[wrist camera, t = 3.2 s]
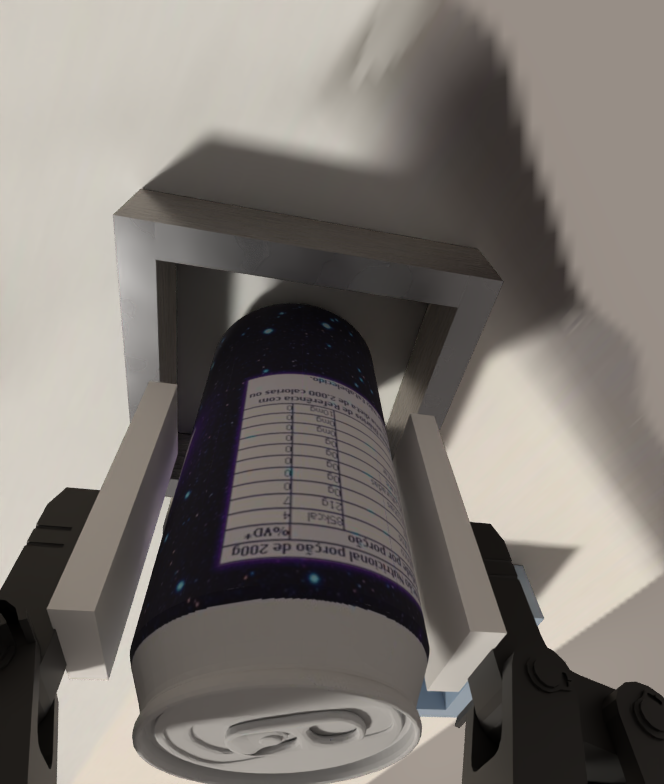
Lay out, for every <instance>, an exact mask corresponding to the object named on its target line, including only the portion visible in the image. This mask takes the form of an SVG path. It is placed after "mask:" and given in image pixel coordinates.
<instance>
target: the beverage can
mask: <svg viewBox="0 0 664 784" xmlns="http://www.w3.org/2000/svg"><path fill="white" fill-rule="evenodd" d="M429 653H430V647H429V642H428V637H427V632H426V627H425V622H424V617H423V612H422V607H421V602H420V597H419V592H418V587H417V582H416V577H415V572H414V567H413V562H412V557H411V552H410V547H409V542H408V537H407V532H406V527H405V522H404V517H403V512H402V507H401V502H400V497H399V492H398V487H397V482H396V477H395V472H394V467H393V462H392V457H391V452H390V447H389V442H388V437H387V432H386V427H385V422H384V417H383V412H382V407H381V402H380V397H379V392H378V387H377V382H376V377H375V373H374V368H373V363H372V358H371V354H370V351H369V349H368V346H367V344H366V342H365V341H364V339H363V338H362V336H361V335H360V334H359V332H358V331H357V330H356V329H355V328H354V327H353V326H352V325H351V324H349V323H348V322H347V321H346V320H344V319H343V318H341V317H340V316H338V315H336V314H334V313H332V312H330V311H328V310H325V309H322V308H319V307H316V306H311V305H306V304H296V303H287V304H277V305H272V306H267V307H264V308H261V309H258V310H255V311H253V312H251V313H249V314H247V315H245V316H244V317H242V318H241V319H239V320H238V321H237V322H235V323H234V324H233V325H232V326H231V327H230V328H229V329H228V330H227V331H226V333H225V334H224V335H223V337H222V338H221V340H220V342H219V344H218V346H217V348H216V351H215V355H214V358H213V362H212V365H211V369H210V372H209V376H208V379H207V383H206V386H205V390H204V393H203V397H202V400H201V404H200V407H199V410H198V414H197V417H196V421H195V424H194V428H193V431H192V435H191V438H190V442H189V445H188V449H187V452H186V456H185V459H184V463H183V466H182V470H181V473H180V477H179V480H178V484H177V487H176V491H175V494H174V498H173V501H172V505H171V508H170V512H169V515H168V519H167V522H166V526H165V529H164V533H163V536H162V540H161V543H160V547H159V550H158V554H157V557H156V561H155V564H154V568H153V571H152V575H151V578H150V582H149V585H148V589H147V592H146V596H145V599H144V603H143V606H142V610H141V613H140V617H139V620H138V624H137V627H136V631H135V634H134V638H133V641H132V645H131V649H130V662H131V669H132V674H133V679H134V684H135V688H136V693H137V698H138V703H139V709H140V715H139V717H138V718H137V720H136V722H135V725H134V728H133V734H132V739H133V745H134V748H135V749H136V751H137V753H138V754H139V756H140V757H141V758H142V759H144V760H145V761H146V762H147V763H148V764H150V765H152V766H153V767H155V768H157V769H159V770H161V771H164V772H166V773H168V774H171V775H173V776H176V777H179V778H183V779H187V780H192V781H196V782H200V783H205V784H328V783H334V782H339V781H344V780H349V779H354V778H357V777H361V776H364V775H367V774H370V773H373V772H376V771H379V770H382V769H384V768H386V767H388V766H390V765H392V764H394V763H396V762H398V761H399V760H401V759H403V758H404V757H405V756H407V755H408V754H409V753H410V752H411V751H412V750H413V749H414V748H415V747H416V745H417V744H418V742H419V740H420V737H421V732H422V724H421V720H420V716H419V713H418V711H417V709H416V706H417V702H418V698H419V694H420V691H421V687H422V683H423V679H424V676H425V672H426V668H427V664H428V659H429Z"/></svg>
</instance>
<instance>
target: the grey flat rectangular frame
mask: <svg viewBox="0 0 664 784" xmlns="http://www.w3.org/2000/svg"><path fill="white" fill-rule="evenodd" d="M113 222H114V234H115V246H116V258H117V270H118V282H119V294H120V306H121V319H122V331H123V343H124V355H125V367H126V379H127V391H128V403H129V415H130V423H131V421H132V419H133V416H134V414H135V412H136V410H137V408H138V405H139V403H140V401H141V399H142V396H143V394H144V392H145V390H146V388H147V385H148V383H149V381H153V382H161V383H169V384H177V274H176V263H180V264H186V265H192V266H199V267H205V268H211V269H218V270H224V271H230V272H236V273H243V274H249V275H255V276H262V277H268V278H274V279H280V280H287V281H293V282H299V283H306V284H312V285H318V286H324V287H331V288H337V289H343V290H350V291H356V292H362V293H369V294H375V295H381V296H387V297H394V298H400V299H406V300H413V301H419V302H425V303H429V304H428V307H427V309H426V312H425V315H424V318H423V321H422V324H421V327H420V330H419V333H418V336H417V339H416V342H415V345H414V348H413V351H412V353H411V356H410V359H409V362H408V365H407V368H406V371H405V374H404V377H403V380H402V383H401V386H400V389H399V392H398V394H397V397H396V400H395V403H394V406H393V409H392V412H391V415H390V418H389V421H388V424H387V427H386V432H387V437H388V442H389V447H390V452H391V457H392V461H393V458H394V456H395V453H396V450H397V448H398V445H399V442H400V440H401V437H402V434H403V432H404V429H405V426H406V424H407V421H408V418H409V415H410V413H414V414H422V415H430V416H434V417H435V420H436V423H437V426H438V429H439V430H440V428H441V425H442V423H443V421H444V418H445V416H446V414H447V411H448V409H449V407H450V405H451V402H452V400H453V398H454V395H455V393H456V391H457V388H458V386H459V384H460V381H461V379H462V377H463V374H464V372H465V370H466V367H467V365H468V363H469V360H470V358H471V356H472V354H473V351H474V349H475V347H476V344H477V342H478V340H479V337H480V335H481V333H482V330H483V328H484V326H485V323H486V321H487V319H488V316H489V314H490V312H491V309H492V307H493V305H494V303H495V300H496V298H497V296H498V293H499V291H500V289H501V286H502V284H503V282H504V281H503V280H502V279H501V277H500V276H499V275H498V274H497V272H496V271H495V270H494V269H493V267H492V266H491V265H490V264H489V262H488V261H487V260H486V259H485V257H484V256H483V255H482V254H481V252H480V251H479V250H478V249H474V248H468V247H463V246H457V245H452V244H446V243H440V242H435V241H429V240H424V239H418V238H412V237H407V236H401V235H396V234H390V233H385V232H379V231H373V230H368V229H362V228H357V227H351V226H346V225H340V224H334V223H329V222H323V221H318V220H312V219H307V218H301V217H295V216H290V215H284V214H279V213H273V212H268V211H262V210H256V209H251V208H245V207H240V206H234V205H229V204H223V203H217V202H212V201H206V200H201V199H195V198H190V197H184V196H178V195H173V194H167V193H162V192H156V191H150V190H145V189H140V190H139V191H138V192H137V193H136V194H135V195H134V196H133V197H131V198H130V199H129V200H128V201H127V202H126V203H125V204H124V205H123V206H122V207H121V208H120V209H119V210H118V211H117V212H115V213H114V214H113ZM190 438H191V434H181V433H178V454H177V458H176V461H175V464H174V467H173V471H172V474H171V477H170V481H169V484H168V487H167V490H166V494H165V496H166V497H172V498H171V501H170V505H169V508H168V512H167V515H166V518H165V522H164V525H163V533H164V529H165V526H166V522H167V519H168V515H169V512H170V508H171V505H172V501H173V498H174V494H175V491H176V487H177V484H178V480H179V477H180V473H181V470H182V466H183V463H184V459H185V456H186V452H187V449H188V445H189V442H190Z"/></svg>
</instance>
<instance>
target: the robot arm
mask: <svg viewBox="0 0 664 784" xmlns="http://www.w3.org/2000/svg"><path fill="white" fill-rule="evenodd" d="M177 454H178V407H177V384H169V383H161V382H153V381H149V383H148V385H147V388H146V390H145V392H144V394H143V396H142V399H141V401H140V403H139V405H138V408H137V410H136V412H135V414H134V416H133V419H132V421H131V423H130V425H129V427H128V430H127V432H126V434H125V436H124V439H123V441H122V443H121V445H120V447H119V450H118V452H117V454H116V456H115V459H114V461H113V463H112V465H111V467H110V470H109V472H108V474H107V476H106V478H105V481H104V483H103V485H102V487H101V490H90V489H79V488H68V487H67V488H65V489H64V490H63V491H62V492H61V493H60V494H59V495H57V496H56V497H55V498H54V499H53V500H52V501H51V502H49V503H48V504H47V506H46V508H45V510H44V512H43V513H42V515H41V517H40V519H39V521H38V522H37V524H36V528H35V529H34V530H33V532H32V533H31V535H30V537H29V539H28V541H27V545H26V546H24V548H23V550H22V552H21V553H20V555H19V557H18V559H17V561H16V562H15V564H14V566H13V568H12V570H11V572H10V573H9V575H8V577H7V579H6V581H5V583H4V584H3V586H2V588H1V590H0V784H57V743H58V698H57V693H56V692H57V690H58V687H59V684H60V682H61V679H62V677H63V674H64V671H65V669H66V671H67V675H68V678H69V679H77V680H109V677H110V674H111V670H112V667H113V664H114V661H115V657H116V654H117V651H118V647H119V644H120V641H121V638H122V634H123V631H124V628H125V625H126V621H127V618H128V615H129V611H130V608H131V605H132V602H133V598H134V595H135V592H136V589H137V585H138V582H139V579H140V575H141V572H142V569H143V566H144V562H145V559H146V556H147V553H148V549H149V546H150V543H151V539H152V536H153V533H154V530H155V526H156V523H157V520H158V517H159V513H160V510H161V507H162V503H163V500H164V497H165V494H166V490H167V487H168V484H169V481H170V477H171V474H172V471H173V467H174V464H175V461H176V458H177ZM392 462H393V467H394V472H395V477H396V482H397V487H398V492H399V497H400V502H401V507H402V512H403V517H404V522H405V527H406V532H407V537H408V542H409V547H410V552H411V557H412V562H413V567H414V572H415V577H416V582H417V587H418V592H419V597H420V602H421V607H422V612H423V617H424V622H425V627H426V632H427V637H428V642H429V647H430V653H429V659H428V664H427V668H426V672H425V676H424V677H425V682H426V688H427V691H445V692H459V691H460V690H461V689H462V687H463V686H464V685H465V684H466V682H467V681H468V683H469V687H470V691H471V695H472V700H471V701H470V702H469V703H468V705H467V706H466V707H465V708H464V709H463V710H462V711H461V713H460V714H459V715H458V716H457V720H456V723H455V726H456V727H458V728H460V727H461V726H462V725H463V724H464V723H465V722H466V728H465V744H464V759H463V775H462V784H664V698H663V697H662V696H661V695H660V694H659V693H657V692H656V691H654V690H653V689H651V688H650V687H649V686H646V685H643V684H641V683H638V682H625V683H624V684H623V685H621V686H620V687H619V688H617V689H616V690H615V689H612V688H610V687H608V686H605V685H603V684H600V683H597V682H595V681H593V680H590V679H588V678H585V677H583V676H580V675H578V674H576V673H574V672H572V671H571V670H570V669H569V668H568V666H567V665H566V663H565V662H564V661H563V660H562V659H561V658H560V657H559V656H558V655H557V654H556V653H555V652H554V651H553V650H551V649H549V648H547V646H546V645H545V642H544V640H543V638H542V636H541V634H540V632H539V629H538V626H537V624H536V621H535V619H534V616H533V614H532V611H531V608H530V606H529V603H528V601H527V598H526V596H525V593H524V591H523V588H522V585H521V583H520V580H518V579H517V576H518V575H517V573H516V570H515V567H514V565H513V564H512V563H511V561H512V560H511V557H510V555H509V552H508V550H507V547H506V544H505V542H504V540H503V539H502V538H501V536H500V535H499V534H498V533H497V531H496V530H495V529H494V528H493V526H492V525H491V524H486V523H475V522H470V521H469V518H468V515H467V512H466V509H465V506H464V503H463V500H462V497H461V494H460V491H459V488H458V486H457V483H456V480H455V477H454V474H453V471H452V468H451V465H450V462H449V459H448V456H447V453H446V450H445V447H444V444H443V441H442V438H441V435H440V432H439V429H438V426H437V423H436V420H435V417H434V416H430V415H422V414H414V413H410V415H409V418H408V421H407V424H406V426H405V429H404V432H403V434H402V437H401V440H400V442H399V445H398V448H397V450H396V453H395V456H394V458H393V461H392Z"/></svg>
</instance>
